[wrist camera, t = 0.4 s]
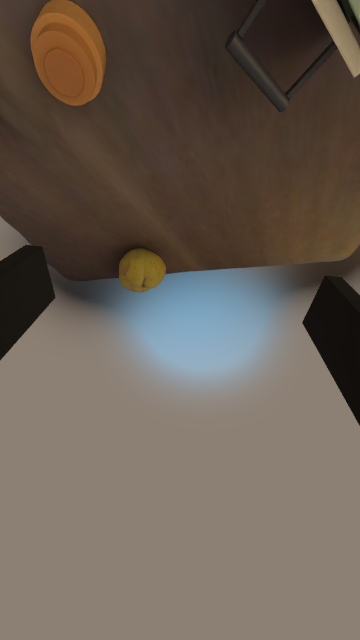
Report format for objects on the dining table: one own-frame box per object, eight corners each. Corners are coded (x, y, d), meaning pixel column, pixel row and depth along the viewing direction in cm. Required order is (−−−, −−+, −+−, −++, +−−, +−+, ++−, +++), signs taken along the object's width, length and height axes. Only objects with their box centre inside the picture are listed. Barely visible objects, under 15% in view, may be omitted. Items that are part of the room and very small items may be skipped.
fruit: (109, 244, 59) (105, 280, 55) (155, 233, 55) (153, 270, 51) (132, 270, 68) (129, 302, 64) (172, 261, 65) (171, 295, 61)
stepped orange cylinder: (24, 36, 27) (10, 62, 25) (63, -25, 24) (50, -1, 21) (80, 101, 33) (73, 128, 30) (119, 60, 29) (114, 87, 27)
